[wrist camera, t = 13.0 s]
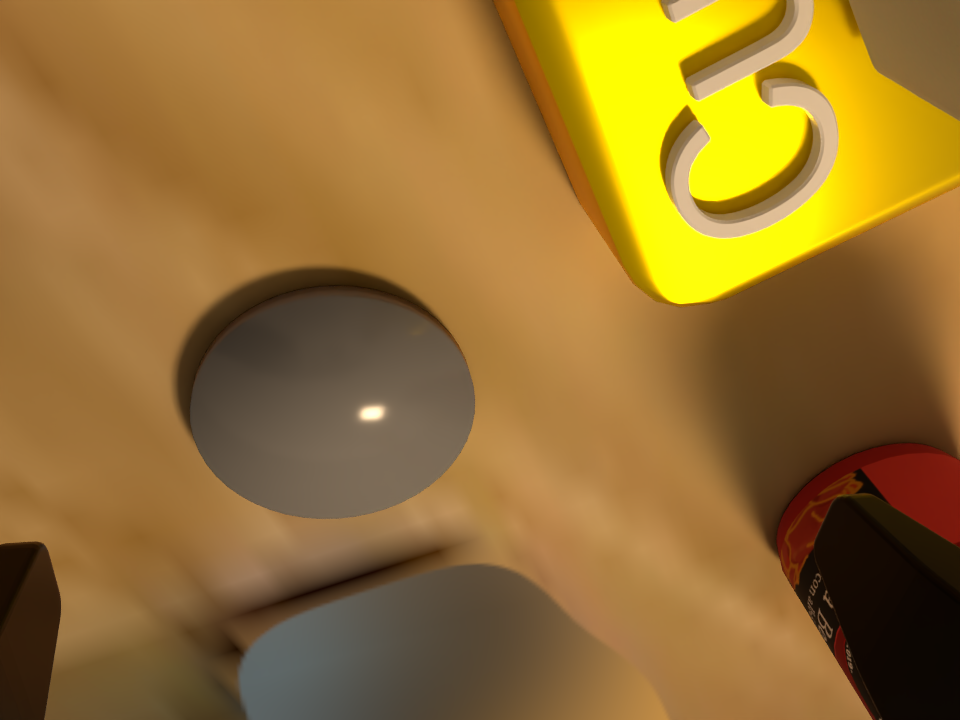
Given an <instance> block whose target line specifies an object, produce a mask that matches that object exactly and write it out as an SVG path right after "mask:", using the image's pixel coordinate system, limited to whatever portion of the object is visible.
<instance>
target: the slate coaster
mask: <svg viewBox="0 0 960 720" xmlns="http://www.w3.org/2000/svg"><path fill="white" fill-rule="evenodd" d="M474 414H475V395H474V387H473V383H472V379H471V376H470V372H469V369H468V366H467V362H466V359H465V357H464V355H463V353H462V351H461V349H460V347H459V345H458V344H457V342H456V341H455V339H454V338H453V337H452V335H451V334H450V333H449V332H448V331H447V329H446V328H445V327H444V326H443V325H442V324H441V323H440V322H439V321H438V320H436V319H435V318H434V317H433V316H431V315H430V314H429V313H427V312H426V311H425V310H423V309H421V308H420V307H418V306H416V305H414V304H413V303H411V302H409V301H406V300H404V299H402V298H400V297H397V296H395V295H392V294H388V293H385V292H382V291H378V290H374V289H368V288H362V287H356V286H338V285H336V286H319V287H312V288H306V289H300V290H296V291H292V292H289V293H285V294H282V295H279V296H276V297H274V298H271V299H269V300H267V301H264V302H262V303H260V304H258V305H256V306H255V307H253V308H251V309H249V310H248V311H246V312H244V313H243V314H241V315H240V316H239V317H238V318H236V319H235V320H234V321H232V322H231V323H230V324H229V325H228V326H227V327H226V328H225V329H224V330H223V331H222V332H221V333H220V334H219V335H218V336H217V337H216V338H215V340H214V341H213V342H212V344H211V345H210V346H209V348H208V349H207V351H206V352H205V354H204V356H203V358H202V360H201V362H200V364H199V367H198V370H197V373H196V376H195V379H194V384H193V390H192V397H191V404H190V424H191V428H192V433H193V438H194V440H195V443H196V445H197V448H198V450H199V452H200V454H201V456H202V457H203V459H204V461H205V463H206V464H207V466H208V467H209V468H210V469H211V470H212V472H213V473H214V474H215V475H216V476H217V477H218V478H219V479H220V480H221V481H222V482H223V483H224V484H225V485H226V486H227V487H229V488H230V489H232V490H233V491H234V492H236V493H237V494H239V495H240V496H242V497H244V498H245V499H247V500H249V501H251V502H253V503H255V504H257V505H260V506H262V507H264V508H267V509H269V510H273V511H276V512H280V513H283V514H287V515H292V516H298V517H304V518H316V519H338V518H348V517H356V516H361V515H366V514H371V513H374V512H377V511H381V510H384V509H387V508H390V507H392V506H394V505H397V504H399V503H402V502H404V501H406V500H407V499H409V498H411V497H413V496H415V495H417V494H418V493H420V492H421V491H423V490H424V489H426V488H427V487H429V486H430V485H431V484H432V483H434V482H435V481H436V480H437V479H438V478H440V477H441V476H442V475H443V474H444V473H445V471H446V470H447V469H448V468H449V467H450V466H451V465H452V464H453V462H454V461H455V460H456V458H457V457H458V455H459V454H460V452H461V451H462V449H463V447H464V445H465V443H466V441H467V439H468V436H469V433H470V431H471V428H472V424H473V419H474Z"/></svg>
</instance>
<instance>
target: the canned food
mask: <svg viewBox="0 0 960 720" xmlns="http://www.w3.org/2000/svg"><path fill="white" fill-rule="evenodd" d="M859 493H867V494H872V495H874V496H876V497H878V498H879V499H881V500H883V501H884V502H886V503H888V504H889V505H891V506H892V507H894V508H896V509H897V510H899V511H901V512H902V513H904V514H906V515H907V516H909V517H911V518H912V519H914V520H915V521H917V522H919V523H920V524H922V525H924V526H925V527H927V528H929V529H930V530H932V531H933V532H935V533H937V534H938V535H940V536H942V537H943V538H945V539H947V540H948V541H950V542H951V543H953V544H955V545H956V546H958V547H960V460H958V459H956V458H955V457H953V456H951V455H949V454H947V453H945V452H943V451H941V450H939V449H937V448H934V447H931V446H928V445H922V444H914V443H903V444H891V445H886V446H881V447H876V448H872V449H869V450H866V451H863V452H860V453H857V454H854V455H852V456H850V457H848V458H846V459H844V460H842V461H840V462H838V463H836V464H834V465H832V466H831V467H829V468H828V469H826V470H825V471H823V472H822V473H820V474H819V475H818V476H816V477H815V478H814V479H813V480H812V481H810V482H809V483H808V484H807V485H806V486H805V487H804V488H803V489H802V490H801V491H800V492H799V493H798V494H797V496H796V497H795V498H794V499H793V500H792V501H791V503H790V505H789V506H788V508H787V509H786V511H785V513H784V514H783V516H782V519H781V521H780V524H779V527H778V531H777V540H776V542H777V547H778V552H779V557H780V561H781V566H782V570H783V572H784V574H785V576H786V577H787V579H788V581H789V583H790V584H791V586H792V587H793V589H794V591H795V592H796V594H797V596H798V597H799V599H800V601H801V602H802V604H803V606H804V607H805V609H806V610H807V612H808V614H809V615H810V617H811V619H812V620H813V622H814V624H815V625H816V627H817V629H818V630H819V632H820V634H821V635H822V637H823V638H824V640H825V642H826V643H827V645H828V647H829V648H830V650H831V652H832V653H833V655H834V657H835V658H836V660H837V661H838V663H839V665H840V666H841V668H842V670H843V671H844V673H845V675H846V676H847V678H848V680H849V681H850V683H851V685H852V686H853V688H854V689H855V691H856V693H857V694H858V696H859V698H860V699H861V701H862V703H863V704H864V706H865V708H866V709H867V711H868V712H869V714H870V716H871V717H872V719H873V720H882V719H881V717H880V715H879V713H878V711H877V709H876V707H875V705H874V703H873V701H872V699H871V697H870V695H869V693H868V691H867V689H866V687H865V685H864V683H863V681H862V678H861V676H860V674H859V672H858V670H857V667H856V665H855V662H854V660H853V658H852V655H851V653H850V650H849V647H848V645H847V642H846V640H845V637H844V634H843V632H842V629H841V627H840V624H839V621H838V619H837V616H836V614H835V611H834V608H833V606H832V603H831V601H830V598H829V595H828V593H827V590H826V587H825V585H824V582H823V580H822V577H821V574H820V572H819V569H818V567H817V564H816V561H815V557H814V547H813V546H814V540H815V538H816V535H817V533H818V531H819V529H820V527H821V525H822V522H823V520H824V518H825V516H826V514H827V512H828V509H829V507H830V505H831V503H832V501H833V500H834V499H835V498H836V497H838V496H839V495H842V494H859Z"/></svg>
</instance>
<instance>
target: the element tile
mask: <svg viewBox="0 0 960 720" xmlns="http://www.w3.org/2000/svg"><path fill="white" fill-rule="evenodd" d="M493 2H494V4H495V7H496V9H497V11H498V14H499V16H500V18H501V21H502V23H503V25H504V28H505V30H506V32H507V35H508V37H509V39H510V42H511V44H512V46H513V49H514V51H515V53H516V56H517V58H518V60H519V63H520V65H521V67H522V70H523V72H524V74H525V77H526V79H527V81H528V84H529V86H530V88H531V91H532V93H533V95H534V98H535V100H536V102H537V105H538V107H539V109H540V112H541V114H542V116H543V119H544V121H545V123H546V126H547V128H548V130H549V133H550V135H551V137H552V140H553V142H554V144H555V147H556V149H557V151H558V154H559V156H560V158H561V161H562V163H563V165H564V168H565V170H566V172H567V175H568V177H569V179H570V182H571V184H572V186H573V189H574V191H575V193H576V196H577V198H578V200H579V203H580V204H581V206H582V207H583V209H584V210H585V212H586V213H587V215H588V216H589V218H590V219H591V221H592V223H593V224H594V226H595V227H596V229H597V230H598V232H599V233H600V235H601V236H602V238H603V239H604V241H605V242H606V244H607V245H608V247H609V248H610V250H611V251H612V253H613V254H614V256H615V257H616V259H617V260H618V262H619V263H620V265H621V266H622V268H623V269H624V271H625V272H626V274H627V275H628V277H629V278H630V280H631V281H632V283H633V284H634V285H635V286H637V287H638V288H639V289H640V290H642V291H643V292H644V293H645V294H647V295H648V296H649V297H650V298H652V299H653V300H655V301H657V302H661V303H665V304H669V305H673V306H677V307H687V306H695V305H702V304H710V303H713V302H717V301H721V300H724V299H727V298H729V297H731V296H733V295H735V294H738V293H740V292H742V291H744V290H746V289H748V288H750V287H752V286H754V285H756V284H758V283H760V282H762V281H764V280H766V279H769V278H771V277H773V276H775V275H777V274H779V273H781V272H783V271H785V270H787V269H789V268H791V267H793V266H795V265H798V264H800V263H802V262H804V261H806V260H808V259H810V258H812V257H814V256H816V255H818V254H820V253H822V252H824V251H826V250H829V249H831V248H833V247H835V246H837V245H839V244H841V243H843V242H845V241H847V240H849V239H851V238H853V237H855V236H857V235H860V234H862V233H864V232H866V231H868V230H870V229H872V228H874V227H876V226H878V225H880V224H882V223H884V222H886V221H888V220H891V219H893V218H895V217H897V216H899V215H901V214H903V213H905V212H907V211H909V210H911V209H913V208H915V207H917V206H919V205H922V204H924V203H926V202H928V201H930V200H932V199H934V198H936V197H938V196H940V195H942V194H944V193H946V192H948V191H951V190H953V189H955V188H957V187H959V186H960V121H959V120H957V119H955V118H954V117H952V116H950V115H949V114H947V113H945V112H944V111H942V110H940V109H938V108H937V107H935V106H933V105H932V104H930V103H928V102H927V101H925V100H923V99H921V98H920V97H918V96H916V95H915V94H913V93H912V92H910V91H908V90H907V89H905V88H904V87H902V86H900V85H899V84H897V83H895V82H894V81H892V80H890V79H888V78H887V77H885V76H883V75H882V74H880V73H879V72H878V71H877V70H876V69H875V68H874V66H873V64H872V62H871V59H870V57H869V54H868V51H867V49H866V46H865V43H864V41H863V38H862V35H861V33H860V30H859V27H858V24H857V22H856V19H855V16H854V14H853V11H852V8H851V5H850V3H849V0H493Z"/></svg>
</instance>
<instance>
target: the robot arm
mask: <svg viewBox="0 0 960 720" xmlns="http://www.w3.org/2000/svg"><path fill="white" fill-rule="evenodd" d="M813 547H814V557H815V561H816V564H817V567H818V569H819V572H820V574H821V577H822V580H823V582H824V585H825V587H826V590H827V593H828V595H829V598H830V601H831V603H832V606H833V608H834V611H835V614H836V616H837V619H838V621H839V624H840V627H841V629H842V632H843V634H844V637H845V640H846V642H847V645H848V647H849V650H850V653H851V655H852V658H853V660H854V662H855V665H856V667H857V670H858V672H859V674H860V676H861V678H862V681H863V683H864V685H865V687H866V689H867V691H868V693H869V695H870V697H871V699H872V701H873V703H874V705H875V707H876V709H877V711H878V713H879V715H880V717H881V719H882V720H960V547H958V546H956V545H955V544H953V543H951V542H950V541H948V540H947V539H945V538H943V537H942V536H940V535H938V534H937V533H935V532H933V531H932V530H930V529H929V528H927V527H925V526H924V525H922V524H920V523H919V522H917V521H915V520H914V519H912V518H911V517H909V516H907V515H906V514H904V513H902V512H901V511H899V510H897V509H896V508H894V507H892V506H891V505H889V504H888V503H886V502H884V501H883V500H881V499H879V498H878V497H876V496H874V495H872V494H867V493H859V494H842V495H839V496H838V497H836V498H835V499H834V500H833V501H832V503H831V505H830V507H829V509H828V512H827V514H826V516H825V518H824V520H823V522H822V525H821V527H820V529H819V531H818V533H817V535H816V538H815V540H814V546H813ZM60 616H61V598H60V592H59V589H58V585H57V581H56V578H55V574H54V570H53V567H52V563H51V559H50V556H49V552H48V550H47V548H46V546H45V545H44V544H43V543H41V542H21V543H5V544H1V545H0V720H44V718H45V711H46V705H47V699H48V692H49V686H50V680H51V673H52V667H53V661H54V655H55V648H56V642H57V636H58V629H59V623H60Z"/></svg>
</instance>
